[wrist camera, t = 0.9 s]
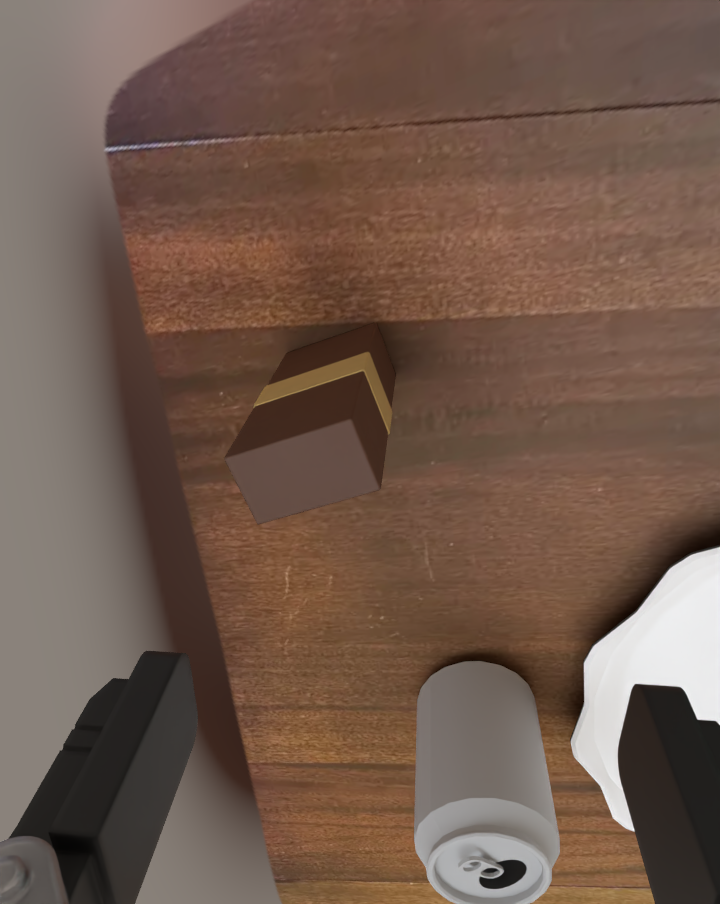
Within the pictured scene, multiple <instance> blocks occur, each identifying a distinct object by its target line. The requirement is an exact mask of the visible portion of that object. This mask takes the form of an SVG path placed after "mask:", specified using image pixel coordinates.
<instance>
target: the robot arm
mask: <svg viewBox="0 0 720 904" xmlns="http://www.w3.org/2000/svg"><path fill="white" fill-rule="evenodd" d="M197 719H198V716H197V706H196V700H195V693H194V686H193V680H192V673H191V667H190V661H189V657H188V655H187V654H186V653H173V652H171V653H170V652H156V651H146V652H144V653H143V654H142V656H141V657H140V659H139V661H138V663H137V664H136V666H135V668H134V670H133V672H132V674H131V676H130V678H129V679H116V678H113V679H112V680H111V681H110V682H108V684H106V685H105V686H104V687H103V688H102V689H101V690H100V691H98V692H97V693H96V694H95V695H94V696H93V697H92V698H91V699H90V700H89V701H88V703H87V705H86V707H85V708H84V710H83V712H82V714H81V715H80V717H79V719H78V721H77V722H76V724H75V729H74V730H72V731H71V733H70V735H69V736H68V738H67V740H66V741H65V743H64V746H63V750H62V751H60V752H59V754H58V755H57V757H56V759H55V761H54V762H53V764H52V766H51V768H50V769H49V771H48V773H47V774H46V776H45V778H44V780H43V781H42V783H41V785H40V787H39V788H38V790H37V792H36V794H35V795H34V797H33V799H32V801H31V803H30V804H29V806H28V808H27V809H26V811H25V813H24V815H23V816H22V818H21V820H20V822H19V823H18V825H17V827H16V828H15V830H14V831H13V833H12V834H11V836H10V837H9V839H7V840H4V841H2V842H0V904H135V902H136V899H137V896H138V893H139V891H140V888H141V885H142V883H143V880H144V877H145V875H146V872H147V869H148V867H149V864H150V861H151V859H152V856H153V853H154V851H155V848H156V845H157V842H158V840H159V837H160V834H161V832H162V829H163V826H164V824H165V821H166V818H167V815H168V813H169V810H170V807H171V805H172V802H173V799H174V797H175V794H176V791H177V788H178V786H179V783H180V780H181V778H182V775H183V772H184V770H185V767H186V764H187V761H188V759H189V756H190V753H191V751H192V748H193V744H194V741H195V737H196V731H197ZM618 769H619V776H620V781H621V785H622V788H623V792H624V795H625V799H626V802H627V806H628V809H629V813H630V816H631V820H632V823H633V827H634V830H635V834H636V837H637V841H638V845H639V848H640V852H641V855H642V859H643V862H644V866H645V869H646V873H647V876H648V880H649V883H650V887H651V890H652V894H653V897H654V901H655V904H720V725H719V724H718V723H717V722H716V721H710V720H697V717H696V715H695V713H694V711H693V708H692V706H691V704H690V701H689V699H688V697H687V695H686V693H685V691H684V690H683V689H682V688H681V687H677V686H662V685H646V684H635V685H634V686H633V688H632V690H631V694H630V698H629V702H628V706H627V710H626V715H625V719H624V723H623V727H622V731H621V736H620V740H619V745H618Z"/></svg>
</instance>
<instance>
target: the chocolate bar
mask: <svg viewBox="0 0 720 904" xmlns="http://www.w3.org/2000/svg"><path fill="white" fill-rule="evenodd" d="M395 377H396V374H395V371H394V368H393V366H392V363H391V360H390V358H389V355H388V352H387V350H386V347H385V344H384V342H383V339H382V336H381V334H380V331H379V328H378V325H377V323H372V324H369V325H367V326H364V327H361V328H358V329H355V330H352V331H349V332H346V333H343V334H341V335H338V336H335V337H332V338H329V339H326V340H323V341H320V342H317V343H315V344H312V345H309V346H306V347H303V348H300V349H297V350H294V351H291V352H289V353H287V354H286V355H285V357H284V358H283V360H282V362H281V363H280V365H279V367H278V368H277V370H276V372H275V373H274V375H273V377H272V379H271V380H270V382H269V384H268V385H267V386H265V387H264V389H263V391H262V392H261V394H260V396H259V397H258V399H257V401H256V402H255V404H254V406H253V407H254V409H253V411H252V412H251V414H250V416H249V417H248V419H247V421H246V422H245V424H244V426H243V427H242V429H241V431H240V432H239V434H238V436H237V437H236V439H235V441H234V443H233V444H232V446H231V448H230V449H229V451H228V453H227V454H226V456H225V458H224V459H225V462H226V464H227V466H228V468H229V469H230V471H231V473H232V475H233V477H234V479H235V481H236V483H237V485H238V487H239V489H240V491H241V493H242V495H243V497H244V499H245V501H246V503H247V505H248V507H249V509H250V511H251V513H252V515H253V517H254V519H255V520H256V522H257V524H262V523H266V522H269V521H273V520H276V519H280V518H283V517H287V516H290V515H294V514H297V513H301V512H304V511H308V510H311V509H315V508H318V507H322V506H325V505H329V504H333V503H336V502H340V501H343V500H347V499H350V498H354V497H357V496H361V495H364V494H368V493H371V492H375V491H378V490H380V489H381V483H382V475H383V468H384V460H385V453H386V445H387V438H388V434H390V426H391V418H392V410H391V407H392V400H393V392H394V385H395Z"/></svg>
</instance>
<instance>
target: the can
mask: <svg viewBox="0 0 720 904" xmlns="http://www.w3.org/2000/svg"><path fill="white" fill-rule="evenodd" d="M414 841H415V847H416V853H417V855H418V856H419V858H420V859H421V861H422V862H423V864H424V865H425V866H426V871H427V878H428V880H429V882H430V883H431V885H432V886H433V888H434V889H435V890H436V891H437V892H438V893H440V894H441V895H442V896H444V897H445V898H446V899H447V900H449V901H451V902H453V903H456V904H529V903H532V902H534V901H535V900H536V899H537V898H539V897H540V896H541V895H542V894H543V893H545V892H546V890H547V888H548V886H549V884H550V883H551V881H552V867H553V865H554V863H555V862H556V860H557V858H558V856H559V854H560V838H559V833H558V827H557V821H556V816H555V810H554V804H553V799H552V793H551V788H550V782H549V776H548V771H547V765H546V759H545V754H544V748H543V742H542V737H541V731H540V725H539V720H538V714H537V708H536V703H535V697H534V695H533V693H532V691H531V689H530V687H529V685H528V684H527V683H526V682H525V681H524V680H523V679H522V678H521V677H520V676H519V675H518V674H517V673H515V672H513V671H511V670H509V669H507V668H505V667H503V666H501V665H497V664H492V663H488V662H483V661H464V662H461V663H457V664H454V665H450V666H447V667H444V668H443V669H441V670H439V671H438V672H436V673H435V674H433V675H431V676H430V677H429V679H428V680H427V681H426V682H425V683H424V685H423V686H422V687H421V690H420V693H419V696H418V700H417V735H416V779H415V823H414Z"/></svg>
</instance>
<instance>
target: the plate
mask: <svg viewBox="0 0 720 904" xmlns="http://www.w3.org/2000/svg"><path fill="white" fill-rule="evenodd" d="M635 684H646V685H662V686H677V687H681V688H682V689H683V690H684V691H685V693H686V695H687V697H688V699H689V701H690V704H691V706H692V708H693V711H694V713H695V715H696V717H697V720H710V721H716V722H717V723H718V724H719V725H720V545H718V546H714V547H710V548H707V549H703V550H699V551H695V552H692V553H689V554H688V555H686V556H685V557H683V558H682V559H680V560H678V561H677V562H675V563H674V564H672V565H671V566H669V567H668V569H667V570H666V571H665V572H664V574H663V575H662V576H661V578H660V579H659V580H658V582H657V583H656V584H655V586H654V587H653V588H652V590H651V591H650V592H649V594H648V595H647V596H646V598H645V599H644V600H643V601H642V603H641V604H640V605H639V607H638V608H637V609H636V611H634V612H633V613H632V614H631V615H629V616H628V617H627V618H625V619H624V620H623V621H622V622H620V623H619V624H618V625H617V626H615V627H614V628H613V629H611V630H610V631H609V632H608V633H606V634H605V635H604V636H603V637H601V638H600V639H599V640H597V641H596V642H595V643H594V644H592V646H591V648H590V650H589V652H588V653H587V655H586V657H585V659H584V703H583V706H582V709H581V712H580V714H579V717H578V720H577V722H576V725H575V728H574V730H573V733H572V736H571V738H570V741H571V747H572V751H573V756H574V757H575V758H576V759H577V761H578V762H579V763H580V764H581V765H582V766H583V767H584V768H585V770H586V771H587V772H588V773H589V774H590V775H591V776H592V777H593V778H594V780H595V781H596V782H597V783H598V784H599V785H600V786H601V789H602V791H603V794H604V796H605V799H606V801H607V804H608V806H609V809H610V811H611V814H612V816H613V818H614V819H615V820H616V821H617V822H618V823H620V824H621V825H622V826H623V827H624V828H626V829H629V830H632V831H634V832H635V830H634V827H633V823H632V820H631V816H630V813H629V809H628V806H627V802H626V799H625V795H624V792H623V788H622V785H621V781H620V776H619V769H618V745H619V740H620V736H621V731H622V727H623V723H624V719H625V715H626V710H627V706H628V702H629V698H630V694H631V690H632V688H633V686H634V685H635Z"/></svg>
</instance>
